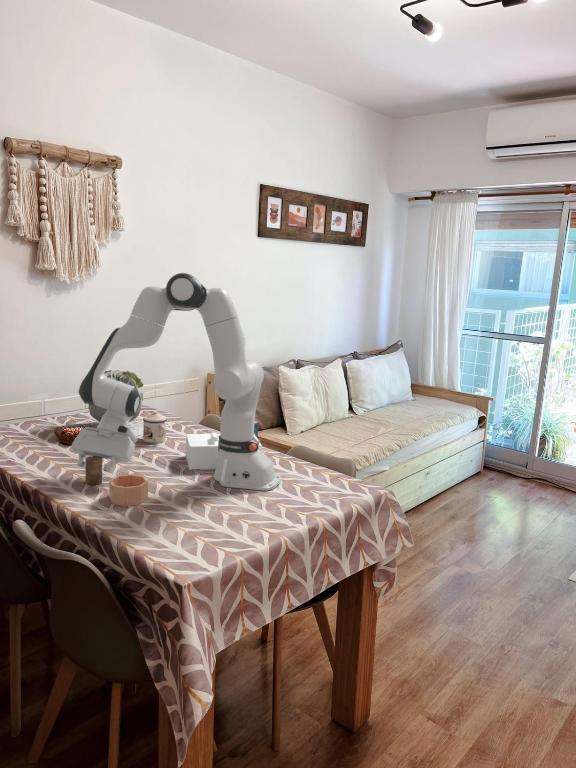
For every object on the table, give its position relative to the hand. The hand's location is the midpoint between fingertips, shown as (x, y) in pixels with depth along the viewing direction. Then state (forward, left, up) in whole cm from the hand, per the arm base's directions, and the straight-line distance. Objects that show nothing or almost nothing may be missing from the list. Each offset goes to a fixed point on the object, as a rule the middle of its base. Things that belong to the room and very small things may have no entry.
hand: (92, 468), depth 183 cm
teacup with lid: (+4, -47, -5) cm, 48 cm away
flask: (-30, -60, -5) cm, 68 cm away
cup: (-16, +6, -5) cm, 18 cm away
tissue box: (-28, -37, -5) cm, 47 cm away
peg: (0, 0, -5) cm, 5 cm away
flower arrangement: (+28, -56, -5) cm, 63 cm away
